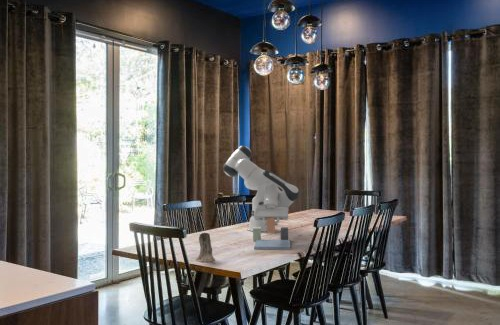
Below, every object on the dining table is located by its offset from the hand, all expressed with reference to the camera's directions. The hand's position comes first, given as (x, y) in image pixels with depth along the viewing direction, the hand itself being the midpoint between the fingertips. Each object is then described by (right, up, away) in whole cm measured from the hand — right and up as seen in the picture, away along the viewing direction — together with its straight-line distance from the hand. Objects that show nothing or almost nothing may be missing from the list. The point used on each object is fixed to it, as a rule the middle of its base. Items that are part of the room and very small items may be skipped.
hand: (270, 224), depth 254 cm
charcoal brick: (+9, -12, +17) cm, 22 cm away
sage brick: (-8, -12, +18) cm, 23 cm away
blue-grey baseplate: (+1, -12, +2) cm, 13 cm away
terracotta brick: (0, -4, +1) cm, 4 cm away
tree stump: (-35, -14, -30) cm, 48 cm away
